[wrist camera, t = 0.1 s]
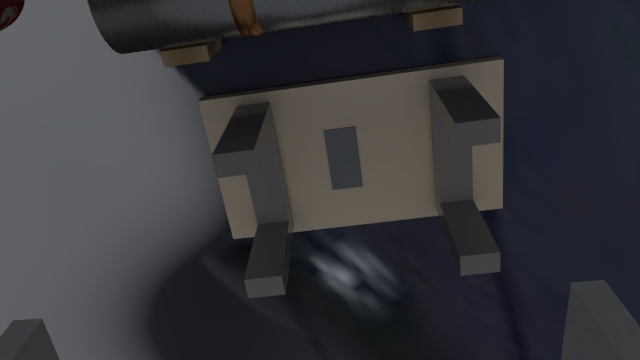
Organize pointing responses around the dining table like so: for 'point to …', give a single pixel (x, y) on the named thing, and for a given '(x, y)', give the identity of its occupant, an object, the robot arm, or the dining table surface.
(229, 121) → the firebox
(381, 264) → the dining table surface
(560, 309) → the dining table surface
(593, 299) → the robot arm
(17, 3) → the mug
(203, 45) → the rack
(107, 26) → the tube
